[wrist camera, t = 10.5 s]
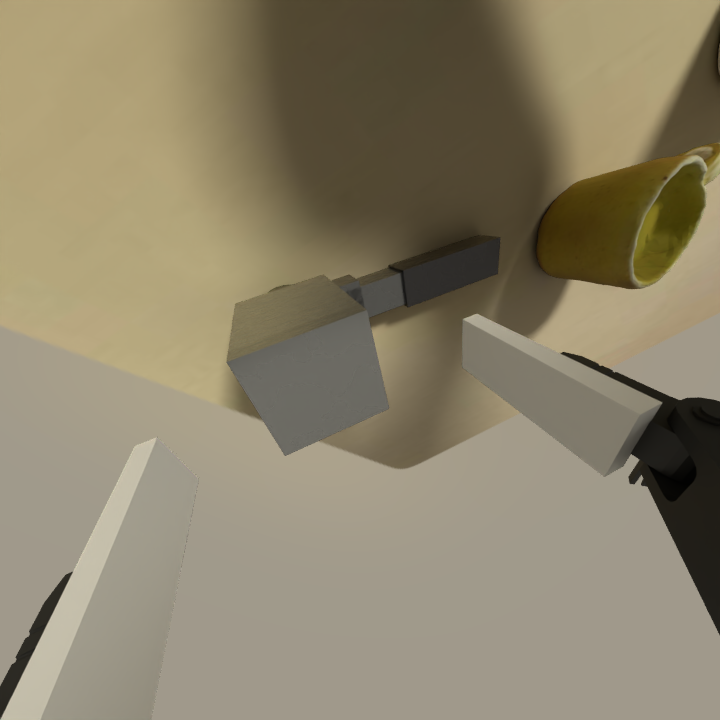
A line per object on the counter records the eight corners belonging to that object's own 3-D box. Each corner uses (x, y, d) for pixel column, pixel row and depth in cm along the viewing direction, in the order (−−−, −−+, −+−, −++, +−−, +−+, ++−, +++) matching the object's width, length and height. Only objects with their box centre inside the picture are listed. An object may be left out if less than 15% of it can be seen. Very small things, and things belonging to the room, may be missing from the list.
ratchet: (478, 221, 23) (548, 224, 17) (477, 279, 26) (536, 297, 20) (244, 297, 19) (242, 330, 14) (272, 356, 22) (280, 402, 16)
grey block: (235, 303, 17) (226, 362, 10) (323, 274, 18) (367, 309, 11) (273, 376, 20) (285, 456, 13) (345, 347, 21) (389, 408, 14)
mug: (545, 315, 29) (678, 307, 19) (503, 234, 26) (636, 178, 16) (608, 248, 31) (755, 212, 21) (575, 166, 28) (731, 82, 18)
